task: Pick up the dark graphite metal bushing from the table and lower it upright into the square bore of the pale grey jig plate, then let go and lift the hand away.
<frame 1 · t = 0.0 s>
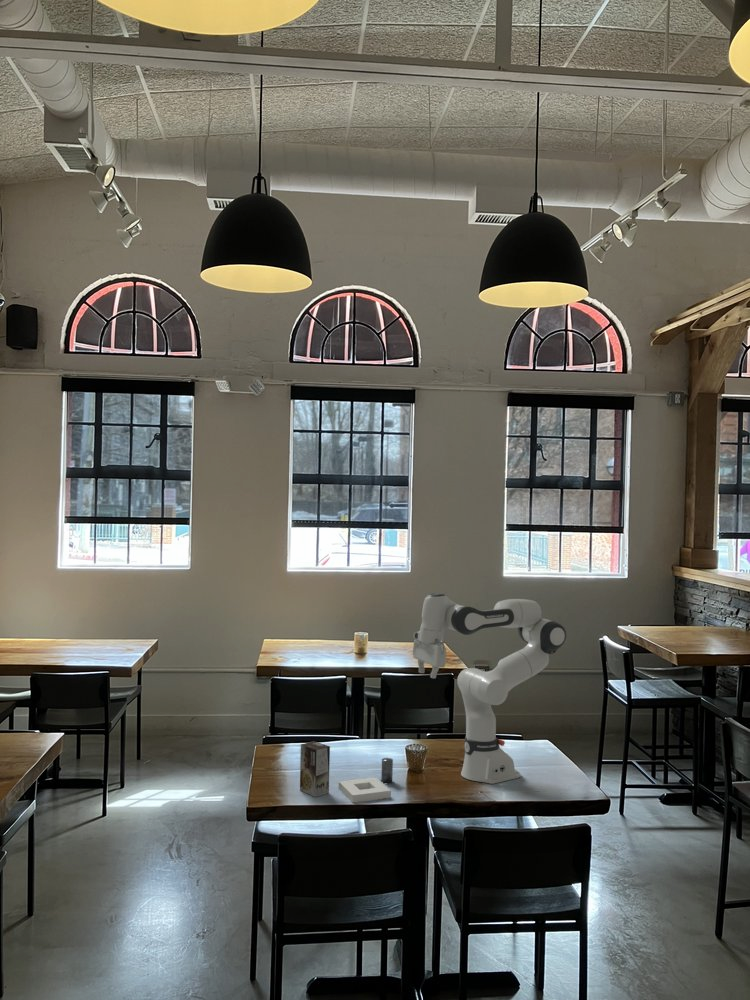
hand: (427, 675, 273), 39 cm above the table, tool pointing down, fingers open, 8 cm apart
jig plate: (364, 793, 260), on the table
coffee box: (314, 792, 260), on the table
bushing: (386, 781, 272), on the table
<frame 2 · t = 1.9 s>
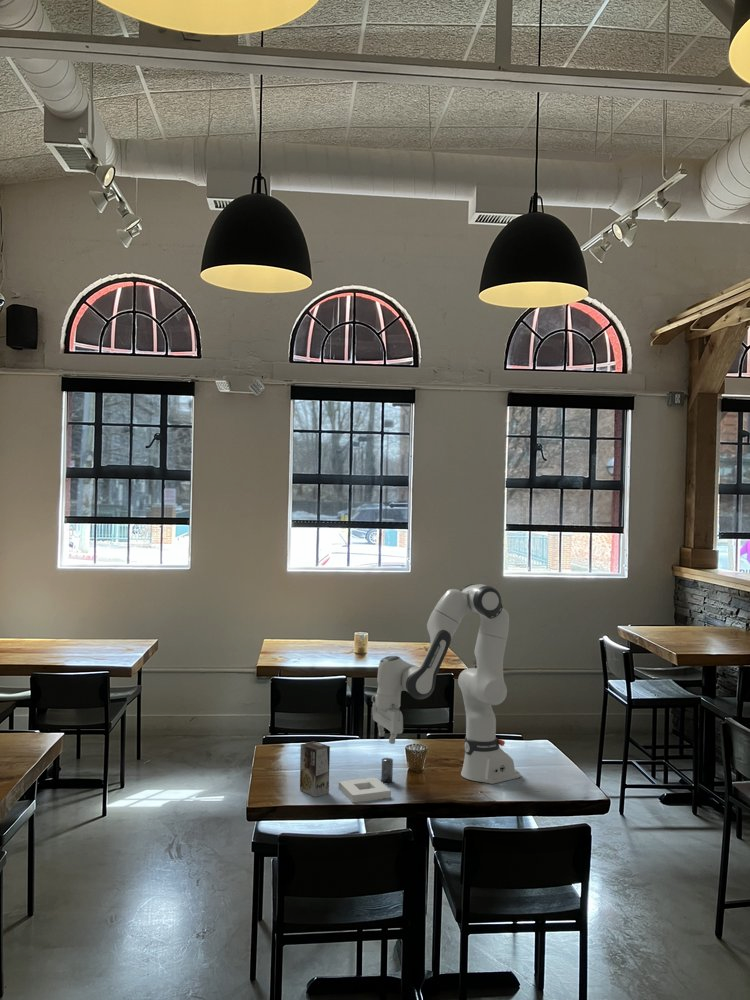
hand: (386, 739, 272), 15 cm above the table, tool pointing down, fingers open, 8 cm apart
nothing on the table moved.
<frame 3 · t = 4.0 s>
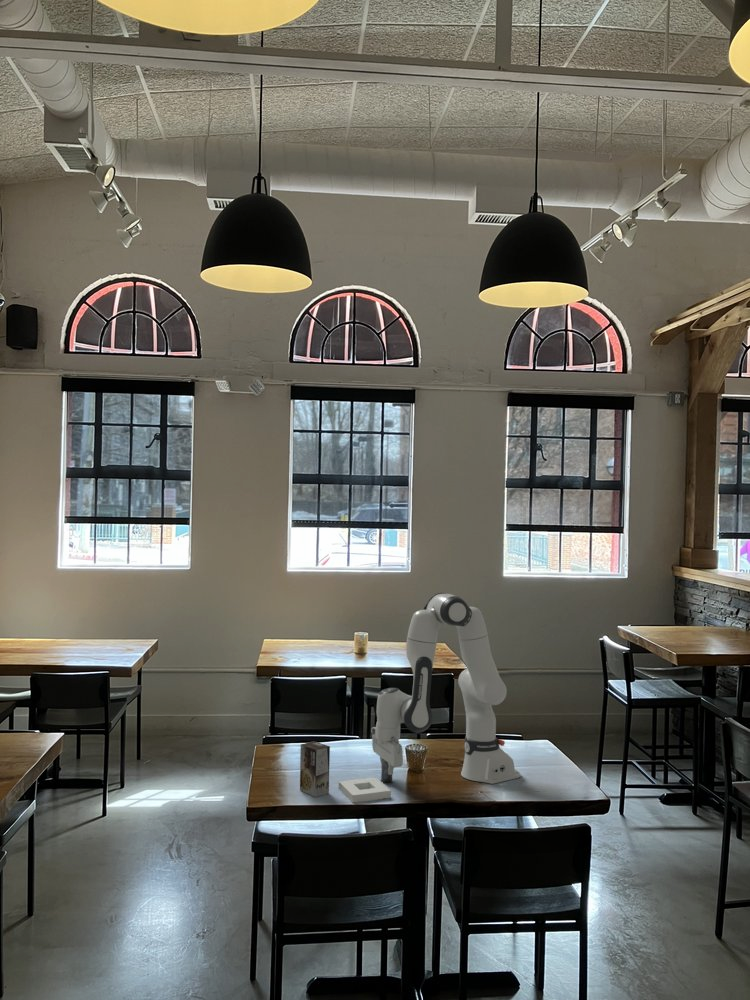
hand: (387, 771, 272), 4 cm above the table, tool pointing down, fingers closed on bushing, 4 cm apart
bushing: (386, 781, 272), on the table, touching gripper
everything else where it was.
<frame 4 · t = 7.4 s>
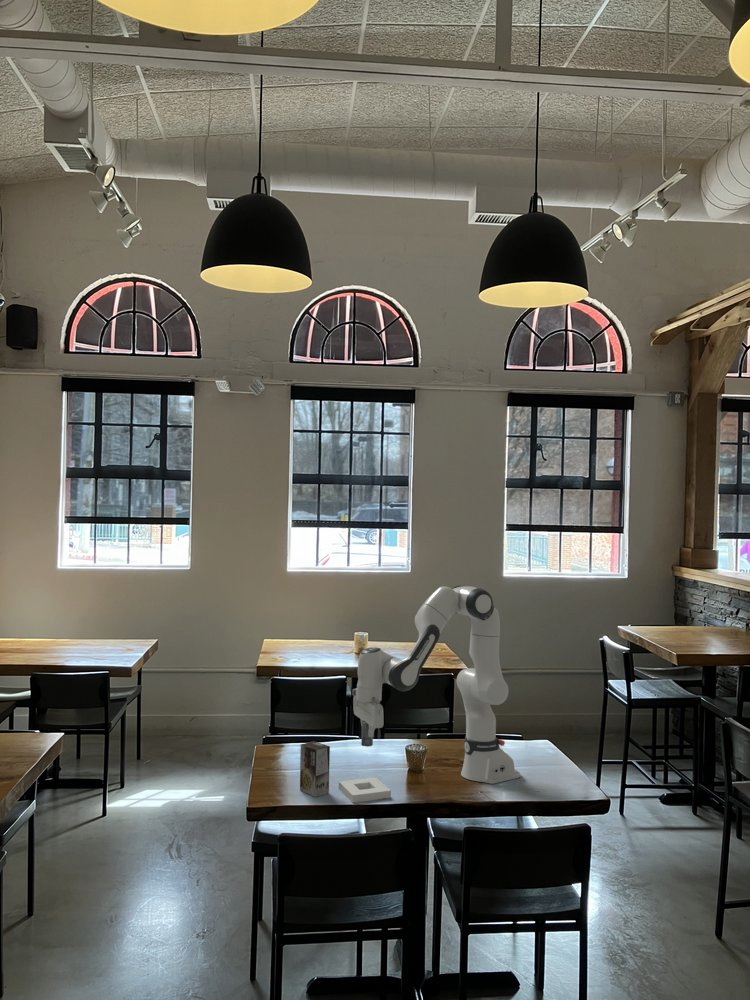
hand: (367, 734, 262), 20 cm above the table, tool pointing down, fingers closed on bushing, 4 cm apart
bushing: (366, 744, 262), point 16 cm above the table, touching gripper
everything else where it was.
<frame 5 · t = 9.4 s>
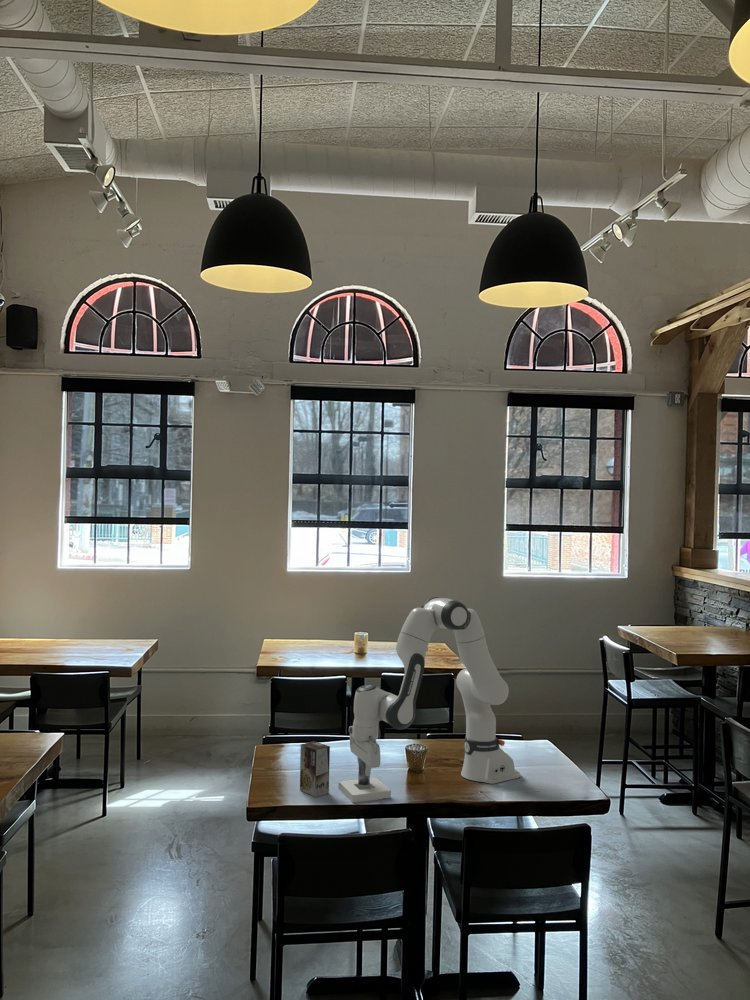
hand: (364, 772, 260), 7 cm above the table, tool pointing down, fingers closed on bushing, 4 cm apart
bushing: (363, 783, 260), point 3 cm above the table, touching gripper
everything else where it was.
when the fingers open (5 cm above the table, at t = 10.9 s): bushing stays where it is, resting in jig plate.
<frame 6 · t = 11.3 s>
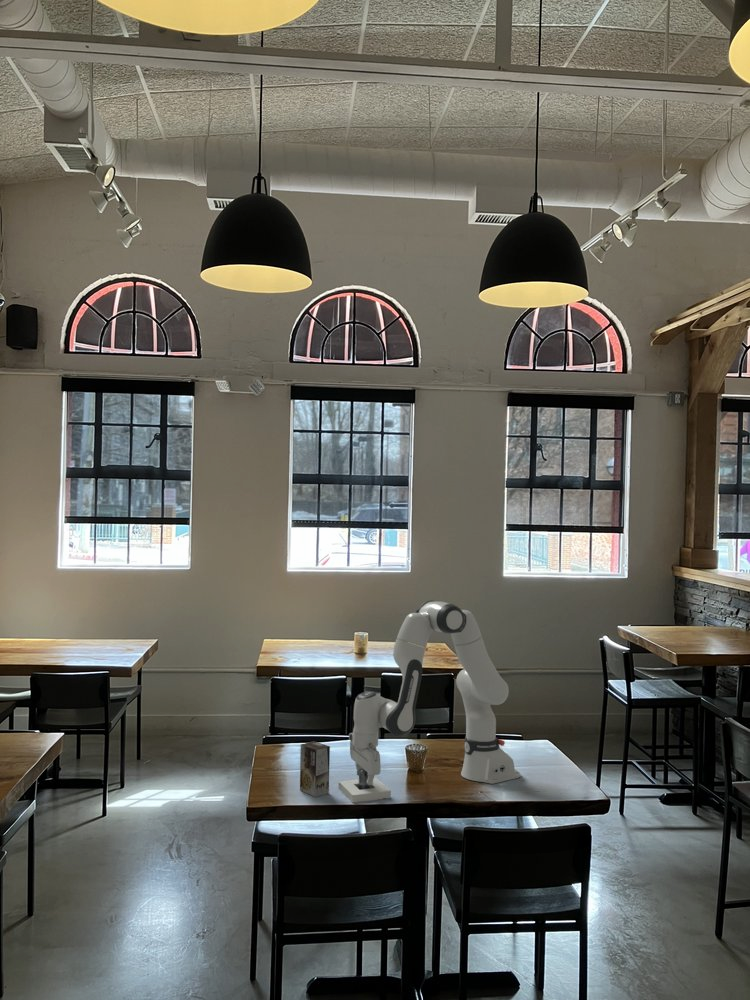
hand: (364, 779, 260), 5 cm above the table, tool pointing down, fingers open, 8 cm apart
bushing: (364, 793, 260), resting in jig plate
everything else where it was.
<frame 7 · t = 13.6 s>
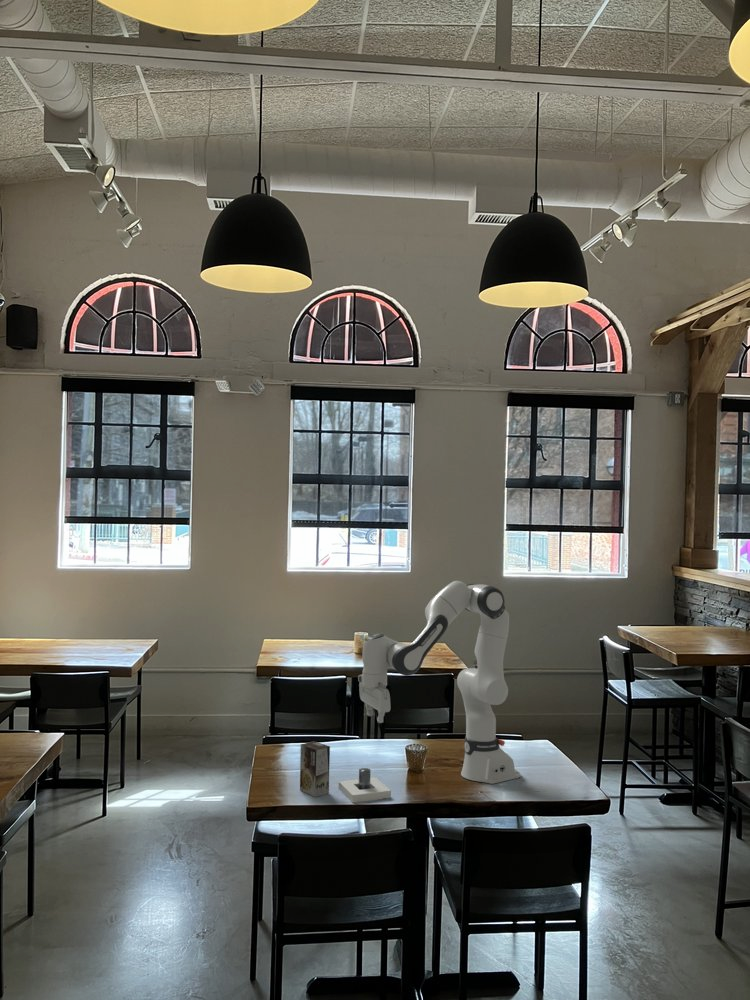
hand: (375, 719, 266), 24 cm above the table, tool pointing down, fingers open, 8 cm apart
nothing on the table moved.
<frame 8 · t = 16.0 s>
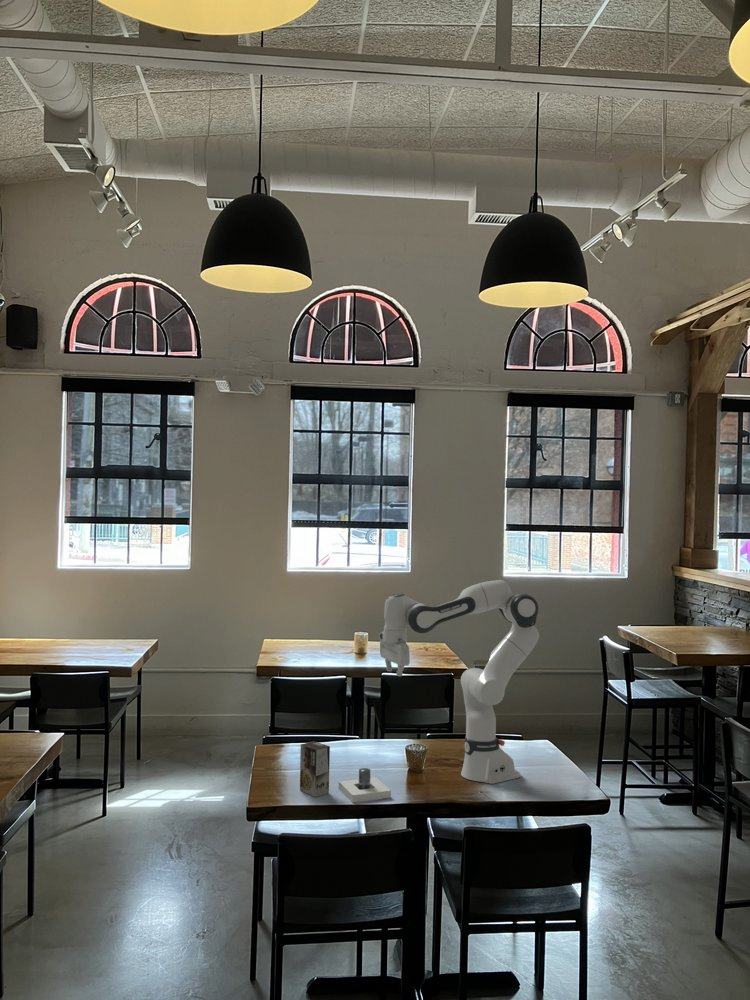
hand: (394, 673, 283), 37 cm above the table, tool pointing down, fingers open, 8 cm apart
nothing on the table moved.
at the end: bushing 0.0 cm off-centre on the jig plate, point 0.0 cm above the jig plate's base; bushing tilted 0°; the gripper is holding nothing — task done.
